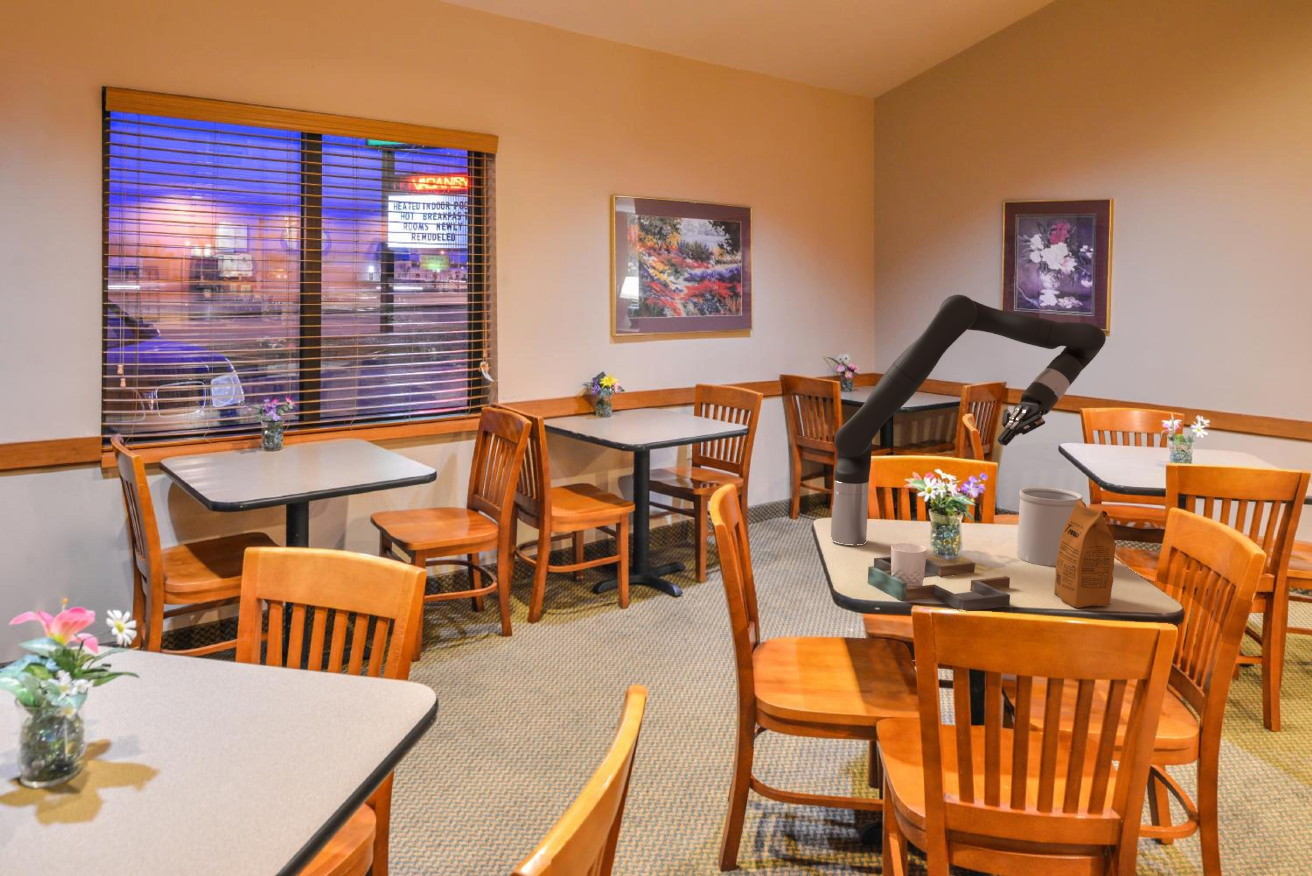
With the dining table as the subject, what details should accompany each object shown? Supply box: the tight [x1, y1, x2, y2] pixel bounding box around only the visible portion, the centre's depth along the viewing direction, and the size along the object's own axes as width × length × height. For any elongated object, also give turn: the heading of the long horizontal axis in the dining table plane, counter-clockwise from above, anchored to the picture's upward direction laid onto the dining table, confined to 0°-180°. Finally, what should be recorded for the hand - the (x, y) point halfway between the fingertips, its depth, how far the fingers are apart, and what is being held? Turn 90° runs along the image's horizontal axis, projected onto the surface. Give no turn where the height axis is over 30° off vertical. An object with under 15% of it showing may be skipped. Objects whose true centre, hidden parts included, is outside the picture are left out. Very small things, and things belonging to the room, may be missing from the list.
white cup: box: [890, 542, 928, 587], centre depth 209 cm, size 8×8×10 cm
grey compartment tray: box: [867, 556, 1011, 611], centre depth 213 cm, size 34×30×4 cm
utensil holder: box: [1016, 486, 1083, 567], centre depth 235 cm, size 15×15×18 cm
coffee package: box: [1053, 499, 1116, 609], centre depth 202 cm, size 10×12×22 cm
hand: (1001, 443), depth 221 cm, fingers closed
